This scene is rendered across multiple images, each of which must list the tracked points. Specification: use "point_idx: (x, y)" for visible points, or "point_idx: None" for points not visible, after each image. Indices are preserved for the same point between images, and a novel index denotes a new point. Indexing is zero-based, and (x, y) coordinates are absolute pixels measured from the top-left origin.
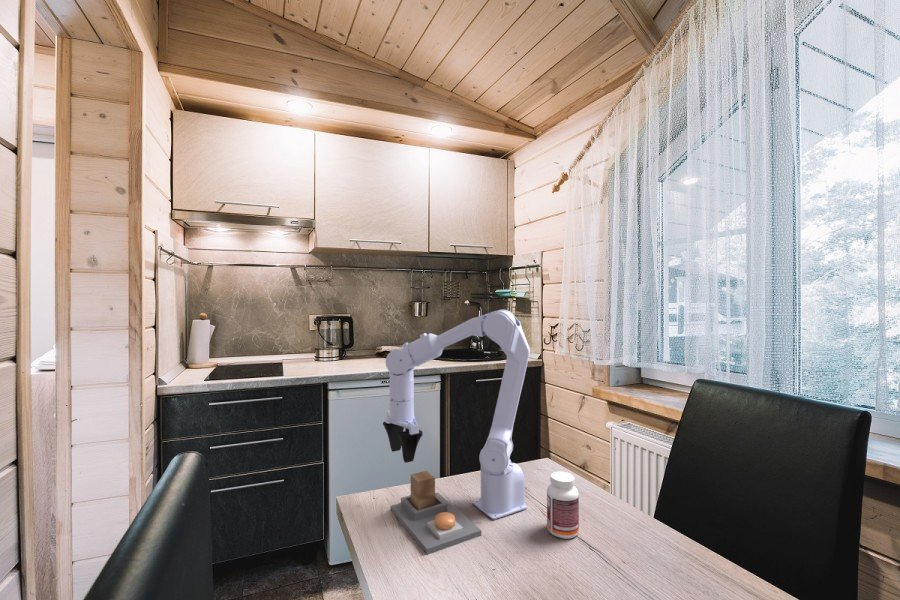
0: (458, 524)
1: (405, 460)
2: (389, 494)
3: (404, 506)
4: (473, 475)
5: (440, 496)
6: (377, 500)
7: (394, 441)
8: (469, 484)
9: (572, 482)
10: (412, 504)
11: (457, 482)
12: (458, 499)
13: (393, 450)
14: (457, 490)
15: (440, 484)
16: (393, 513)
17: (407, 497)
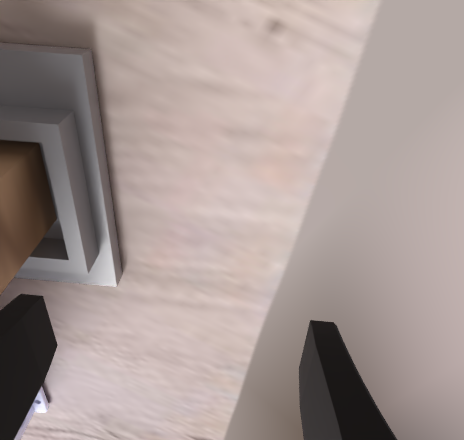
0: None
1: (4, 309)
2: (261, 122)
3: (19, 110)
4: (213, 414)
5: (79, 277)
6: (235, 32)
7: (322, 421)
8: (160, 380)
9: None
10: (6, 149)
11: (195, 365)
12: (73, 311)
13: (308, 334)
14: (138, 339)
15: (215, 324)
16: (45, 46)
17: (50, 155)
